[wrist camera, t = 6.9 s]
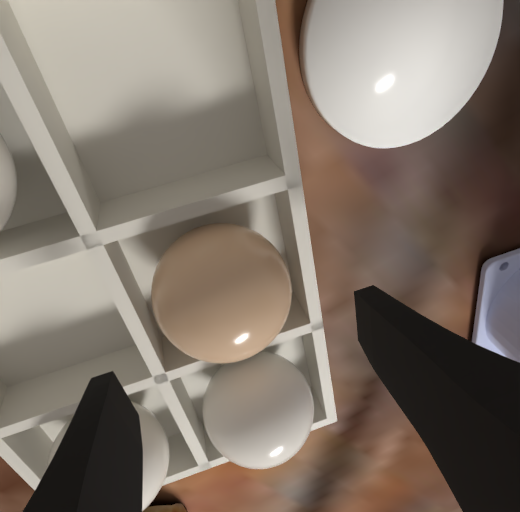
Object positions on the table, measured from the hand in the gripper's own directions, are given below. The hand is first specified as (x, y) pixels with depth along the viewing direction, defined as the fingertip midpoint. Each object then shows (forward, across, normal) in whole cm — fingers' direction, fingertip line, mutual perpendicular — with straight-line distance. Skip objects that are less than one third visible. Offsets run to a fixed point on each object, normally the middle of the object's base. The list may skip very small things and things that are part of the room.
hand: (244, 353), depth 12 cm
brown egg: (+5, 0, 0) cm, 5 cm away
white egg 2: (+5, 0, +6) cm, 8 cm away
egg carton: (+6, +3, 0) cm, 7 cm away
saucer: (+6, -8, -6) cm, 12 cm away
